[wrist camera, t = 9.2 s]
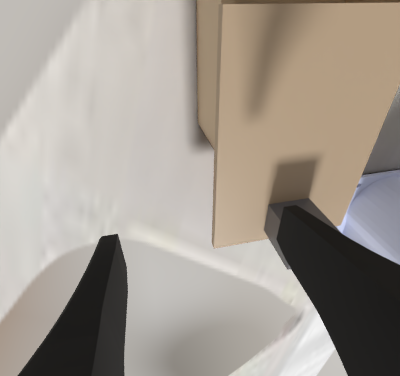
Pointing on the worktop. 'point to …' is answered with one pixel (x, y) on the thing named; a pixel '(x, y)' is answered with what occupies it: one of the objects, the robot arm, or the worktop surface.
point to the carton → (208, 53)
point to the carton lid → (297, 110)
